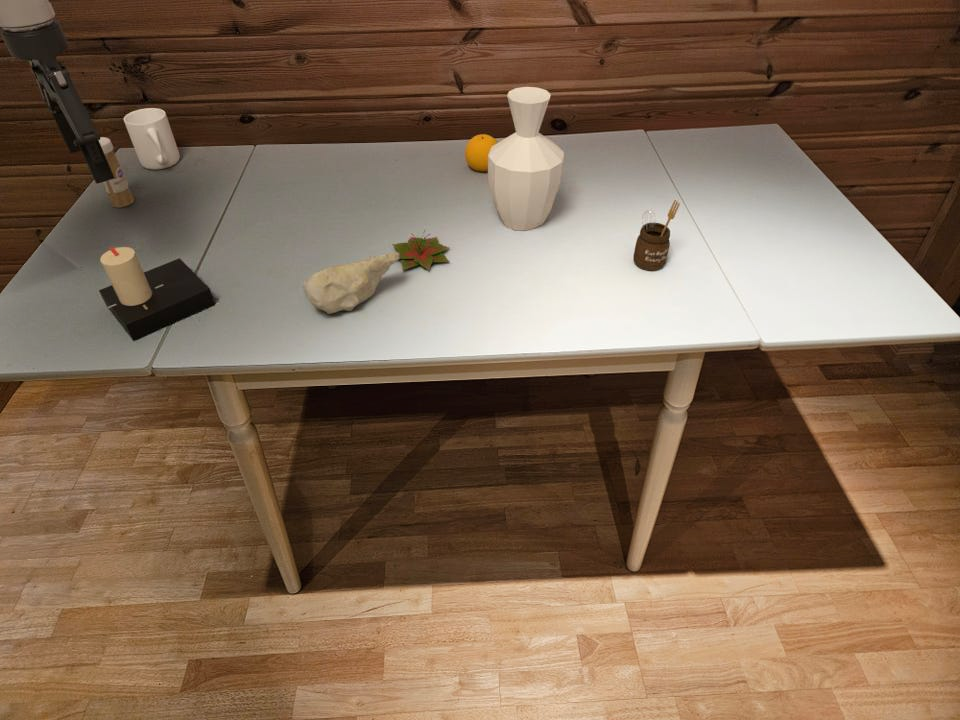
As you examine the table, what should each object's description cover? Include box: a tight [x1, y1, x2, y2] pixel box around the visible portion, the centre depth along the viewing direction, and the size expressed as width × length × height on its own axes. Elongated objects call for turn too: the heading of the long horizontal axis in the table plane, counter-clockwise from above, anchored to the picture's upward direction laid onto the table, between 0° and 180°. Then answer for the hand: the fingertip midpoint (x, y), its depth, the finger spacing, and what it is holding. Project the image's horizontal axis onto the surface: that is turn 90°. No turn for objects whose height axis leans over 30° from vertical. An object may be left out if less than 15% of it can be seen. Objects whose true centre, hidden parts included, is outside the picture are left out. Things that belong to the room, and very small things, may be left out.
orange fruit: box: [464, 133, 499, 172], centre depth 145 cm, size 8×8×8 cm
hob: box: [98, 257, 216, 342], centre depth 110 cm, size 15×12×4 cm
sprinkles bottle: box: [99, 136, 135, 208], centre depth 132 cm, size 5×5×14 cm
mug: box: [123, 107, 181, 171], centre depth 145 cm, size 9×12×11 cm
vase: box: [487, 86, 565, 232], centre depth 123 cm, size 14×14×25 cm
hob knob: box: [100, 246, 152, 306], centre depth 105 cm, size 5×5×8 cm
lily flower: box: [391, 230, 451, 272], centre depth 121 cm, size 12×12×5 cm
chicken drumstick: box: [301, 251, 400, 315], centre depth 110 cm, size 15×7×15 cm
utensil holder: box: [633, 199, 681, 272], centre depth 116 cm, size 6×6×12 cm
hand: (91, 165), depth 106 cm, fingers open, 13 cm apart
